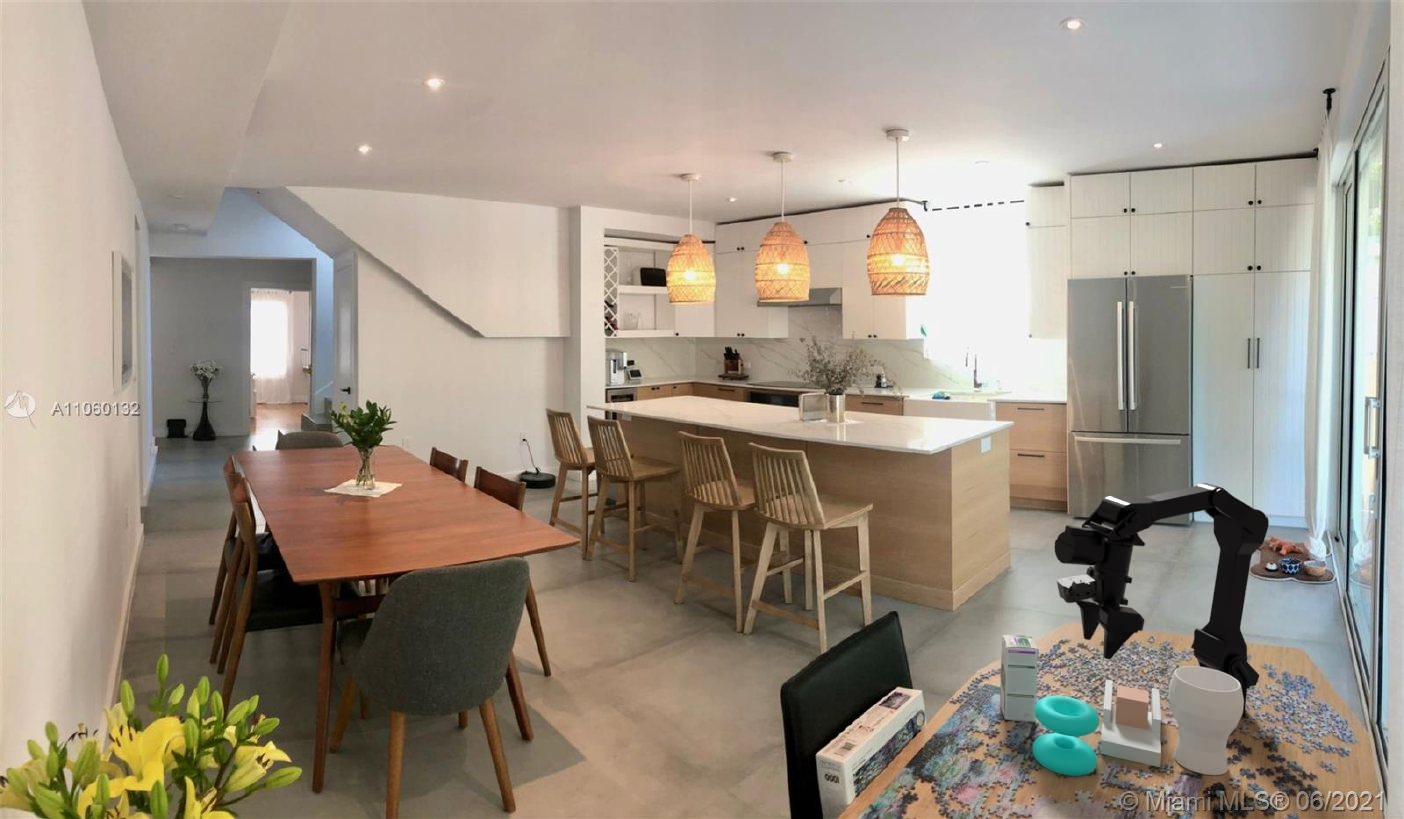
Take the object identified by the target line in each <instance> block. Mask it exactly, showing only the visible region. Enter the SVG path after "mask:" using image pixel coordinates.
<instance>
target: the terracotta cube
mask: <svg viewBox="0 0 1404 819" xmlns="http://www.w3.org/2000/svg"><path fill="white" fill-rule="evenodd" d="M1116 687H1117V688H1116V700H1115V701H1116V704H1115V705H1116V715H1115V723H1117V724H1122V725H1127V726H1131V727H1136V728H1141V729H1146V730H1147V720H1148V711H1149V707H1150V706H1149V703H1150V702H1149V701H1150V700H1149V690H1144V689H1139V688H1133V687H1129V686H1124V685H1118V684H1117V686H1116Z"/></svg>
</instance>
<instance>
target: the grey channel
mask: <svg viewBox="0 0 1404 819" xmlns="http://www.w3.org/2000/svg"><path fill="white" fill-rule="evenodd" d="M1113 684H1114V683H1113V679H1112V680H1110V679H1107V678H1106V679H1105V687H1104V696H1103V710H1102V726H1101V735H1100V736H1101V737H1100V749H1099V750H1100V751H1099V752H1100V755H1105V756H1110V757H1113V758H1118V759H1122V760H1127V761H1131V762H1135V763H1140V764H1143V765H1149V766H1152V767H1159V768H1160V767H1161V759H1162V758H1161V756H1162V753H1161V752H1162V751H1161V750H1162V746H1161V723H1162V719H1161V700H1160V689H1159V688H1153V687H1151V693H1150V695H1151V696H1150V706H1149V708H1150V710H1148V720H1147V730H1146V729H1141V728H1136V727H1131V726H1127V725H1122V724H1117V723H1115V715H1116V704H1114V703H1112V698H1113V696H1112V695H1113Z"/></svg>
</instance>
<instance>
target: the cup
mask: <svg viewBox="0 0 1404 819" xmlns="http://www.w3.org/2000/svg"><path fill="white" fill-rule="evenodd" d="M1168 699H1169V704H1170V708H1171V712H1172V714H1173V717H1174V719H1175V721H1176V723H1177V731H1178V732H1177V733H1178V739H1177V742H1176V745H1175V750H1174V754H1173V758H1174V759H1175V761H1176V762H1177V763H1178V764H1179V765H1181V766H1182V767H1183V768H1185V769H1187V770H1189V771H1192V772H1195V773H1198V774H1202V775H1208V776H1219V775H1220V776H1221V775H1223V774H1226V773H1227V771H1228V769H1229V768H1228V756H1227V748H1226V747H1227V743H1228V739H1229V736H1230V734H1232V733H1233V732H1234V730H1235V729H1236V728H1237V726H1238V724H1239V723H1240V721H1241V718H1242V717H1241V716H1242V713H1243V705H1244V699H1243V693H1242V688H1241V685H1240V682H1239V681H1238V680H1236V679H1235V678H1234V677H1232V676H1230V675H1228V674H1226V673H1224V672H1221V671H1217V670H1214V669H1210V668H1205V667H1200V666H1196V665H1195V666H1193V665H1186V666H1180V667H1177V668H1175V669H1174V672H1173V674H1172V677H1171V679H1170V682H1169V685H1168Z"/></svg>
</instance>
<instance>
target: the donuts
mask: <svg viewBox="0 0 1404 819" xmlns="http://www.w3.org/2000/svg"><path fill="white" fill-rule="evenodd" d="M1034 712H1035V716H1036V720H1037V721H1038V722H1039V723H1040V725H1042V726H1043V727H1045V728H1046V729H1048V730H1049V731H1052V733H1044V734H1042V735H1040V736H1039V737H1037V738H1036V739H1035V740H1034V741H1033V743H1032V747H1031V748H1032V754H1033V757H1034V758H1035V760H1036V761H1037V762H1038V763H1039V764H1040V765H1041V766H1043V767H1044V768H1045V769H1048V770H1049V771H1051V772H1054V773H1058V774H1061V775H1065V776H1074V777H1076V776H1077V777H1078V776H1085V775H1088V774H1090V773H1091V772H1093V771H1094V770H1095V769H1096V767H1097V764H1098V758H1097V754H1096V752H1095V751H1094V749H1093V748H1092V747H1091V746H1090V745H1089V744H1088V743H1087V742H1085V741H1084V740H1082V739H1080V738H1079V737H1084V736H1088V735H1091V734H1093V733H1094V732H1095V731H1097V730H1098V728H1099V726H1100V717H1099V714H1098V713H1097V710H1096V709H1094V707H1092V706H1091V705H1090V704H1088V703H1086V702H1085V701H1082V700H1080V699H1077V698H1075V697H1074V698H1073V697H1070V696H1064V695H1048V696H1045V697H1042V698H1040V699H1039V700H1038V701H1036V705H1035V708H1034Z"/></svg>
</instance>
